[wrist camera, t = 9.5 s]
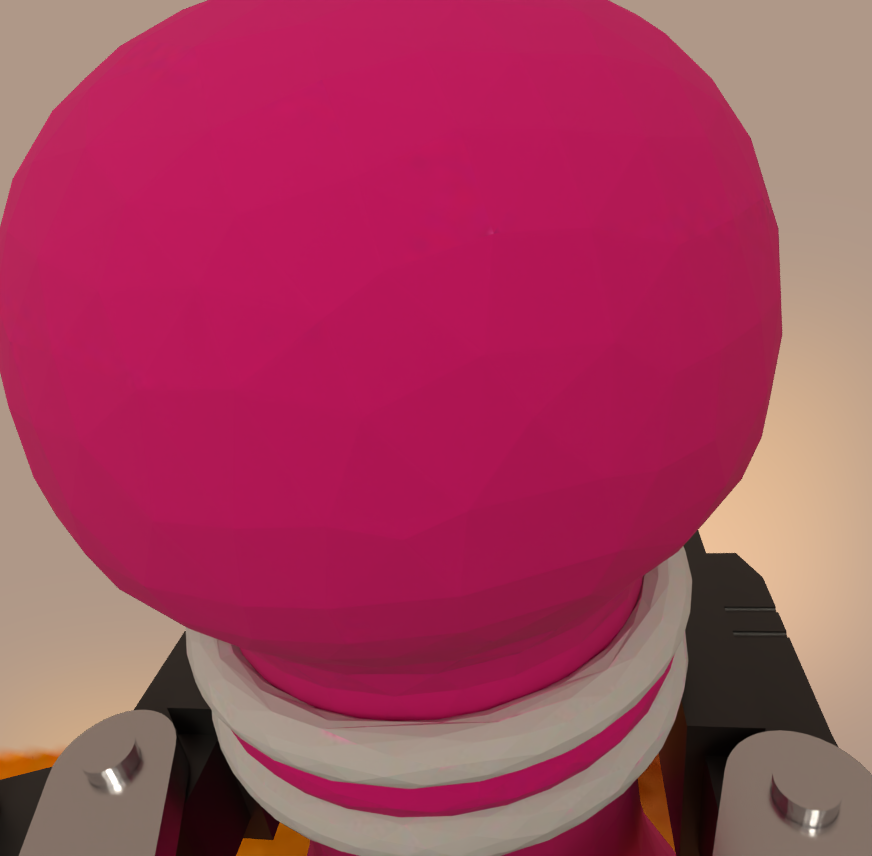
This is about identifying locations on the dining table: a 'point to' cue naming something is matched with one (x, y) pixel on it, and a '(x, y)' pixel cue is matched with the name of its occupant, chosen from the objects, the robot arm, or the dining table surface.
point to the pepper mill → (402, 393)
